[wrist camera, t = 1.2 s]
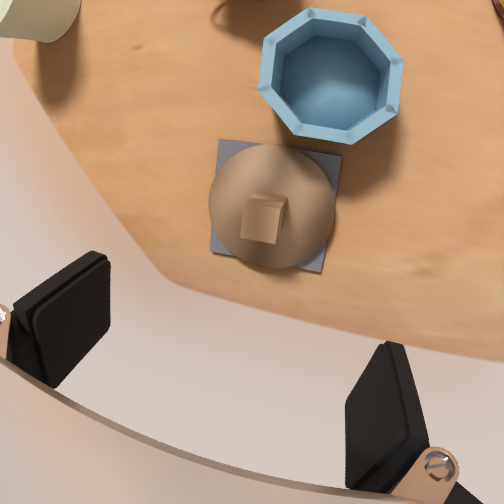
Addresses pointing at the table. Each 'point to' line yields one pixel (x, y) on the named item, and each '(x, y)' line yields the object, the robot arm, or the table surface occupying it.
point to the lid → (271, 206)
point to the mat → (325, 161)
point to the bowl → (330, 75)
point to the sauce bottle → (499, 6)
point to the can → (37, 18)
